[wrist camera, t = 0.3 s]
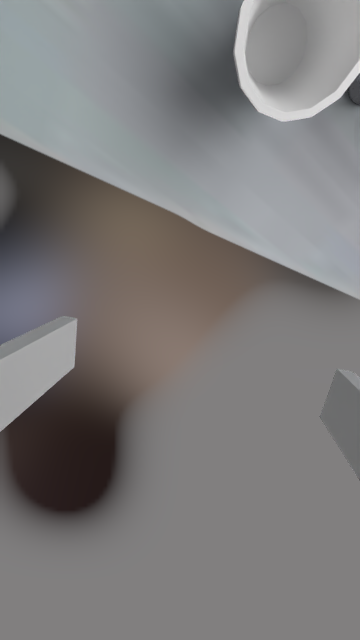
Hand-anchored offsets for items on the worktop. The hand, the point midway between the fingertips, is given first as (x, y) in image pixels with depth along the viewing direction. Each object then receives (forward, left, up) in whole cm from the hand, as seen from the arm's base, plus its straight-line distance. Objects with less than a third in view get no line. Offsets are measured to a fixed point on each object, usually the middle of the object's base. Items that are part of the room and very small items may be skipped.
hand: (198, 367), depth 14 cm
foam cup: (-9, +11, -32) cm, 35 cm away
